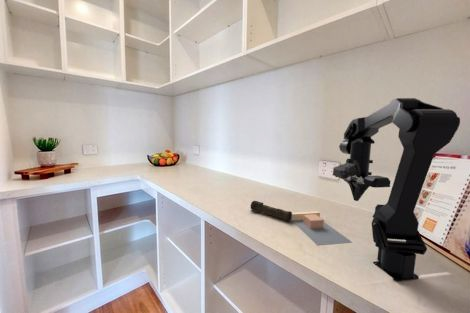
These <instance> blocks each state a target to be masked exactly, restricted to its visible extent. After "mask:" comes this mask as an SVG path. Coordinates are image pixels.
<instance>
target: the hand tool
mask: <svg viewBox="0 0 470 313" xmlns="http://www.w3.org/2000/svg"><path fill="white" fill-rule="evenodd" d="M250 210H252V211H254V212H255V213H257V214H265V215H268V216H272V217H275V218H277V219H281V220H284V221H286V222H287V223H289V222H291V216H292V213H293V212H292V211H290V210H289V211H288V210H284V209H281V208H278V207H277V208H275V207H273V206H270V205H266V204H264V202H262V201H258V200H253V201H251V203H250Z"/></svg>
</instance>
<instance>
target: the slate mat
mask: <svg viewBox="0 0 470 313" xmlns="http://www.w3.org/2000/svg"><path fill="white" fill-rule="evenodd" d="M311 214H316V215H317V216H319V217H320V218H321V212H319V211H317V210H315V211H302V212H301V211H297V212H292V216H291V220H290V222H292V223H293V224H295V226H296V227H298V228H299V230H301V231H302V232H303V233H304V234H305V235H306V236H307V237H308V238H309V239H310V240H311V241H312V242H313V243H314V244H315V245H316V246H317V247H319V246H325V245H326V246H327V245H329V246H330V245H337V244H348V243H351V244H352V243H353V241H351V240H350V239H348V237H346V236H344V234H342V233H340V232H339V231H338V230H336V229H335V228H333V227H332V226H331V225H329V224H328V223H326V222H325V221H323V228H314V229H310V228H309V227H308V226H306V225H305V224H304V223H303V215H311Z"/></svg>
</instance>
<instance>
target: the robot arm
mask: <svg viewBox="0 0 470 313" xmlns="http://www.w3.org/2000/svg"><path fill="white" fill-rule="evenodd" d="M460 123H461V118H460V117H459V116H458V115H457V112H455V111H454V110H452V109H449V108H448V109H447V108H443V107H440V106H437V105H433V104H430V103H426V102H424V101H422V100H421V99H417V98H415V97H403V98H402V97H397V98H394V99H392V100H391V101H390V102H389V103H388V104H386V105H384V106H383V107H381V108H379V109H378V110H376V111H374V112H372V113H371V114H369V115H368V116H365V117H363V116H362V117H358V118H354V119H352V120H351V121H350V123H349V124H348V126H347V128H346V130H345V131H344V133H343V140H342V141H341V142H340V144H339V146H338V147H339V150H340V152H341V153H342V154H346V155H350V156H349V158H347V159H346V161H345V163H342V164H339V165H337V166H335V167H333V168H332V169H333V170H332V176H335V178H340V179H341V180H343V181H344V182H346V183H347V184H348V185H349V188H350V191H351V195H352V198H353V200H354V201H355V202H358V201H359V200H360V199H361V198H362V197H363V195H364V194H365V192H366V191H367V190H368V188H369V187H371V188H374V189H375V188H376V189H377V188H378V189H379V188H390V187H391V190H390V193H389V197H388V199H387V202H386V203H385V204H376V206H375V208H374V213H373V215H372V218H373V219H372V220H371V232H372V239H373V242H374V244H375V245H374V246H375V247H376V248H377V249H378V250H377V258H376V259H377V261H373V263H372V264H373V265H375V266H376V267H378V268H379V269H380V270H381V271H382V272H384V273H386V274H387V275H388V276H389V277H391V278H392V280H393V281H395V282H397V283H399V282H405V281H413V280H419V277H420V276H419V275H417V274H416V273H415V268H416V260H417V259H416V258H417V255H423V256H424V255H425V254H426V252H427V250H428V248H427V245H426V243H425V242H424V239H423V237H422V235H421V234H420V231H419V226H420V225H419V223H420V222H419V220H418V218H417V216H416V214H415V209H416V206H417V203H418V200H419V198H420V195H421V192H422V190H423V188H424V184H425V181H426V179H427V176H428V173H429V170H430V168H431V165H432V162H433V160H434V156H435V155H436V154H437V153H438V152H439V151H440V150H442V149H443V148H444V147H445V146H447V145H448V144H449V143H451V141H452V139H453V138H454V136H455V134H456V132H457V131H458V129H459V126H460ZM390 124H394V125H395V126H396V127H397V128H398V130H399V131H398V139H399V141H400V143H401V145H402V147H403V150H402V153H401V157H400V160H399V164H398V167H397V169H396V170H397V171H396V173H395V177H394V181H393V183H392V186H391V180H390V178H389V177H385V176H383V175H382V176H381V175H372V174H373V172H372V171H370V164H373V163H374V160H373V159H371V150H372V145H373V144H375V142H376V141H375V140H374V139H372V137H374V136H375V135H376V134H378V133H379V130H380V129H381V128H383V127H385V126H387V125H390Z"/></svg>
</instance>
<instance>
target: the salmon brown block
mask: <svg viewBox="0 0 470 313" xmlns="http://www.w3.org/2000/svg"><path fill="white" fill-rule="evenodd" d="M323 222H325V220H324V219H323V218H322V217H321V216H320V217H319V216H317V215H316V214H311V215H303V223H304V224H305V225H306V226H308V227H309V228H310V229H314V228H323Z"/></svg>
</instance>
